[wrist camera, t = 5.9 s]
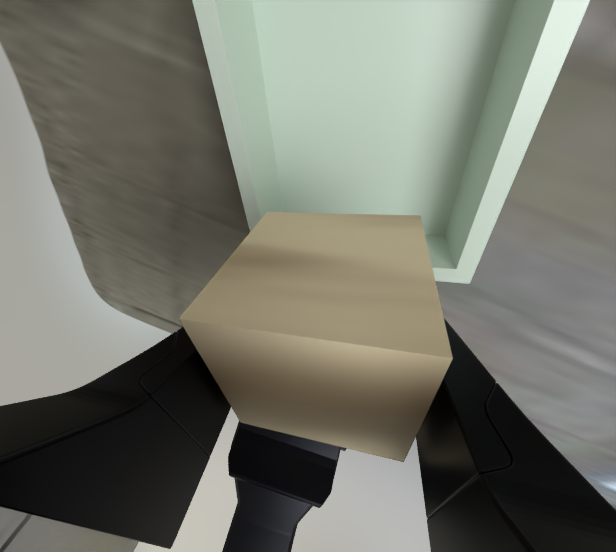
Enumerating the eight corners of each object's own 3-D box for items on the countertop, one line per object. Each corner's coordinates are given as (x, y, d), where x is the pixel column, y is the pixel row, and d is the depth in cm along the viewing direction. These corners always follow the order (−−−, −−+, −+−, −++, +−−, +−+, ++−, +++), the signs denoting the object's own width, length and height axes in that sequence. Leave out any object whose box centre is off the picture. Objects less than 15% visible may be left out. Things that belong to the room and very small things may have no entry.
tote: (453, 241, 19) (469, 283, 15) (280, 232, 22) (258, 265, 19) (614, -253, 8) (820, -541, 4) (220, -127, 11) (136, -225, 7)
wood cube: (397, 324, 11) (403, 462, 7) (286, 310, 12) (240, 422, 8) (420, 215, 8) (453, 358, 4) (267, 212, 9) (178, 318, 5)
